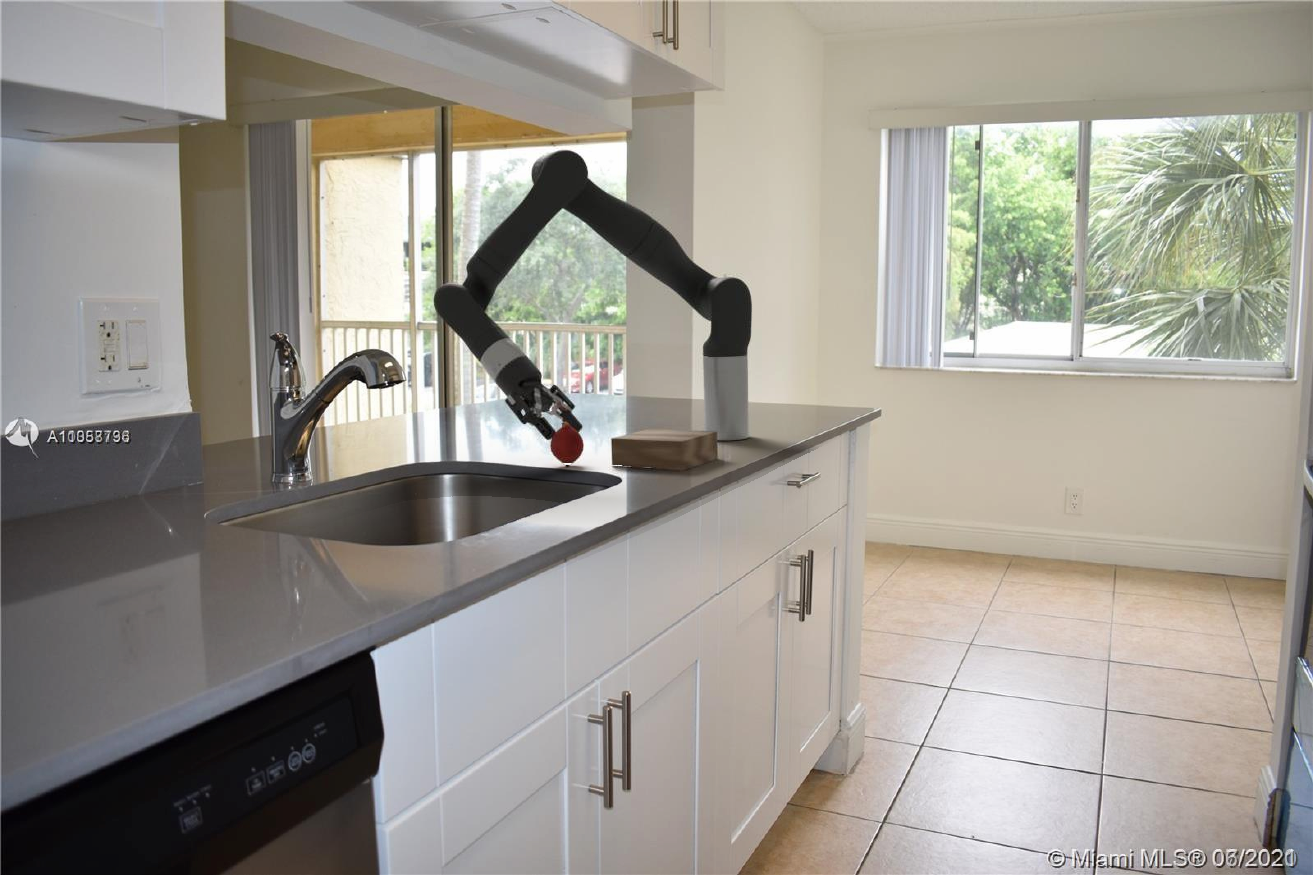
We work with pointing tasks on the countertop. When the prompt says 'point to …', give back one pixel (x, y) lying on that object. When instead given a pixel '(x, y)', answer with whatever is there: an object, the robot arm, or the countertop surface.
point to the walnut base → (665, 449)
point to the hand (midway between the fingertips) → (565, 433)
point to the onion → (567, 444)
